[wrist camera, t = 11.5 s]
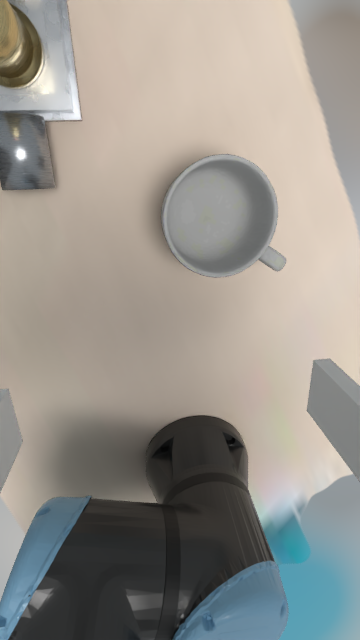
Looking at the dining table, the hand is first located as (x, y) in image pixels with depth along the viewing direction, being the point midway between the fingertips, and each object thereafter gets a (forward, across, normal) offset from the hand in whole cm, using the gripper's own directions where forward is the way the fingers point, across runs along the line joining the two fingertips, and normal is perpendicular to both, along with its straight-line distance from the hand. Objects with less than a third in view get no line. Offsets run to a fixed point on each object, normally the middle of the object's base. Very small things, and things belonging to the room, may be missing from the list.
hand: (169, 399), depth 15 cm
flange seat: (+27, +11, -17) cm, 34 cm away
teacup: (+27, -8, -4) cm, 28 cm away
